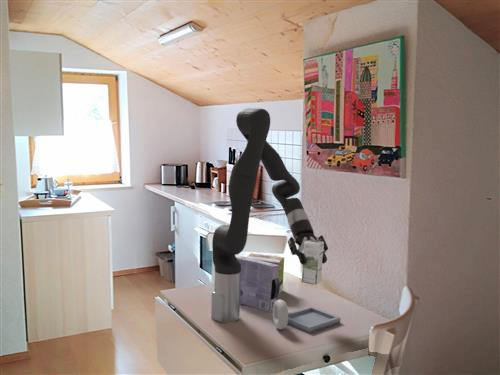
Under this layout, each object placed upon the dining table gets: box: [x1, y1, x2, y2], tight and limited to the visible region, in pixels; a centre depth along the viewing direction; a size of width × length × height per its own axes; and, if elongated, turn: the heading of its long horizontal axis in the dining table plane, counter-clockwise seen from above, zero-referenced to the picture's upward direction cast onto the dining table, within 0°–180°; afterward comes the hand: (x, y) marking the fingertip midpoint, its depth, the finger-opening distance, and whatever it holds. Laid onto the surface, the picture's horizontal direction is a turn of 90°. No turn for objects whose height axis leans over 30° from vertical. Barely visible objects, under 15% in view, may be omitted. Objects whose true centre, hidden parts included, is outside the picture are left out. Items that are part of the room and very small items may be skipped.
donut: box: [272, 299, 289, 331], centre depth 175 cm, size 10×4×10 cm, turn 13°
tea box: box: [246, 252, 285, 296], centre depth 214 cm, size 15×10×15 cm, turn 73°
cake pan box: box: [236, 255, 280, 313], centre depth 196 cm, size 19×5×18 cm, turn 54°
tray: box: [287, 306, 341, 334], centre depth 182 cm, size 16×14×2 cm
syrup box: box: [301, 240, 324, 286], centre depth 180 cm, size 6×6×14 cm
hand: (314, 263), depth 179 cm, fingers closed on syrup box, 8 cm apart
